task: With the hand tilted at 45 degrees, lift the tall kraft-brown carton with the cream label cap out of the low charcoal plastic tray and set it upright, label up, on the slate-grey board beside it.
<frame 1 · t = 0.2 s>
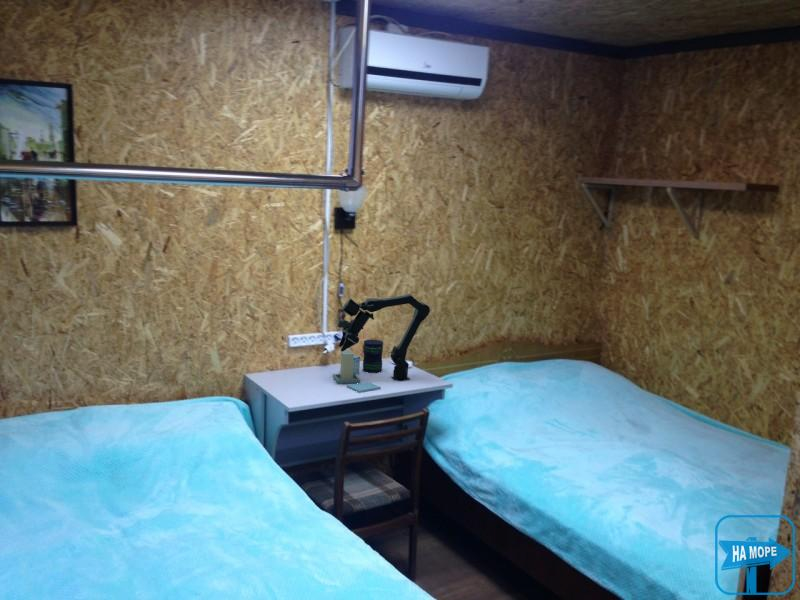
hand: (340, 348, 323), 15 cm above the table, tool tilted 35°, fingers open, 9 cm apart
medicine box: (350, 373, 338), on the table
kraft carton: (346, 379, 323), point 1 cm above the table, touching charcoal tray
slate board: (363, 388, 313), on the table
storage jar: (372, 371, 344), on the table
charcoal tray: (346, 380, 323), on the table
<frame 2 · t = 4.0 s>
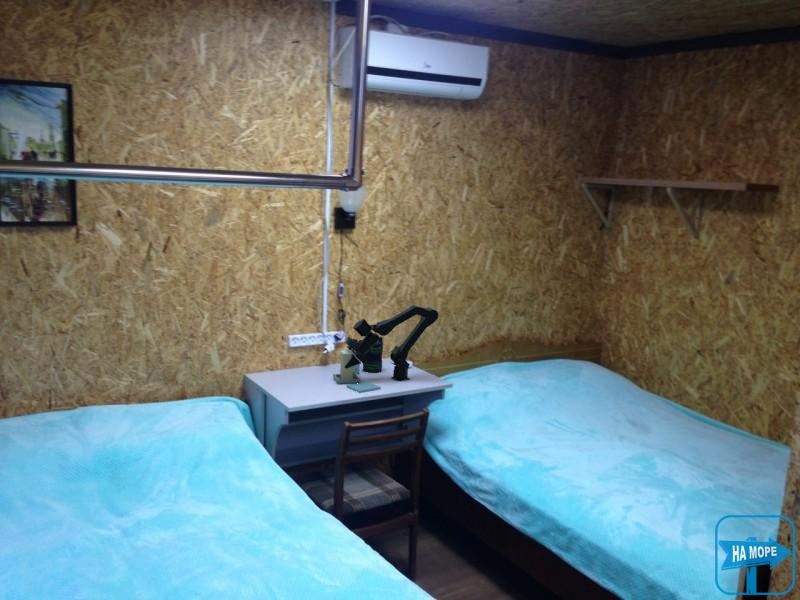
hand: (343, 366, 322), 7 cm above the table, tool tilted 45°, fingers closed on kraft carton, 5 cm apart
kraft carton: (346, 379, 323), point 1 cm above the table, touching charcoal tray, gripper
everything else where it was.
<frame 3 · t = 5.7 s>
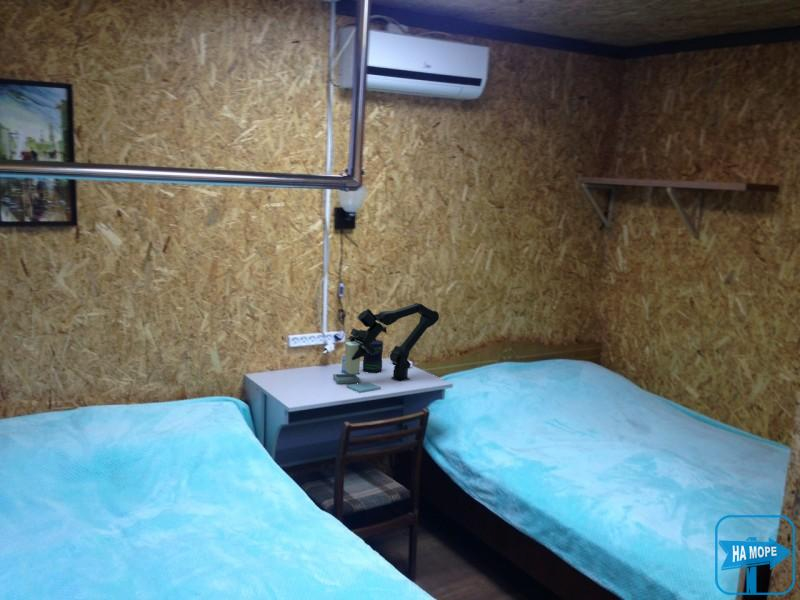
hand: (349, 358, 316), 12 cm above the table, tool tilted 45°, fingers closed on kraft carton, 5 cm apart
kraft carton: (352, 371, 318), point 6 cm above the table, touching gripper
everything else where it was.
when the fingers open (9 cm above the table, at t = 7.5 s): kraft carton drops 1 cm, resting on slate board.
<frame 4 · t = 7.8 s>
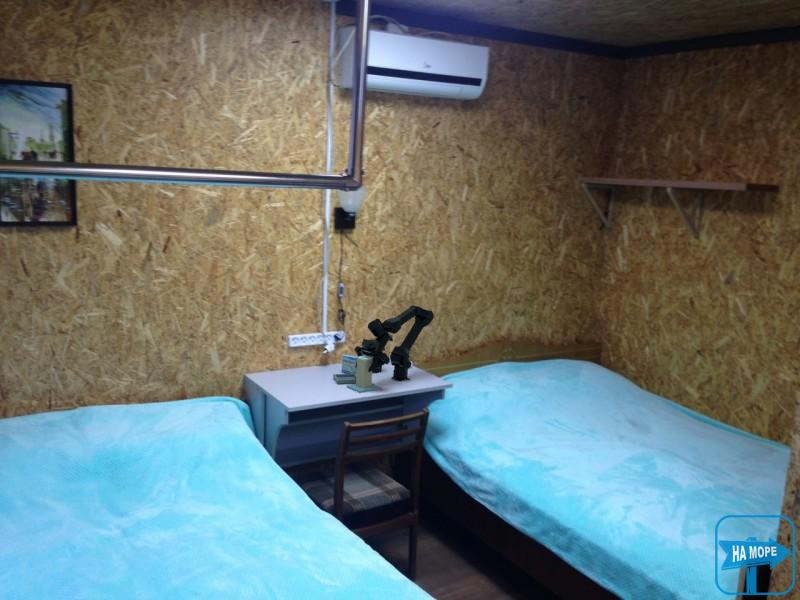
hand: (362, 369, 310), 9 cm above the table, tool tilted 45°, fingers open, 8 cm apart
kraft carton: (363, 386, 312), point 1 cm above the table, touching slate board
everything else where it was.
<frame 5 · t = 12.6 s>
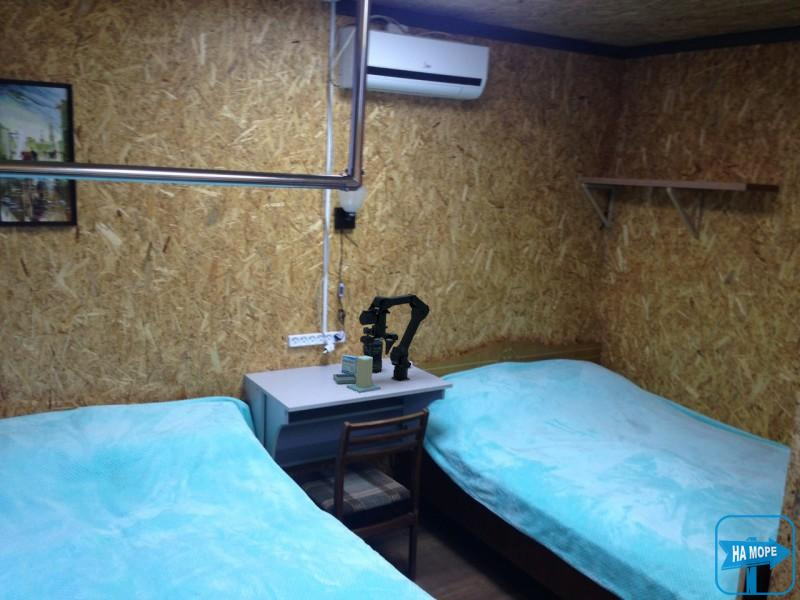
hand: (378, 356, 321), 13 cm above the table, tool pointing down, fingers open, 9 cm apart
nothing on the table moved.
at the end: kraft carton inside the target area on the slate board (0.0 cm from its centre), point 1.0 cm above the slate board's base; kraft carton tilted 0°; the gripper is holding nothing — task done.
